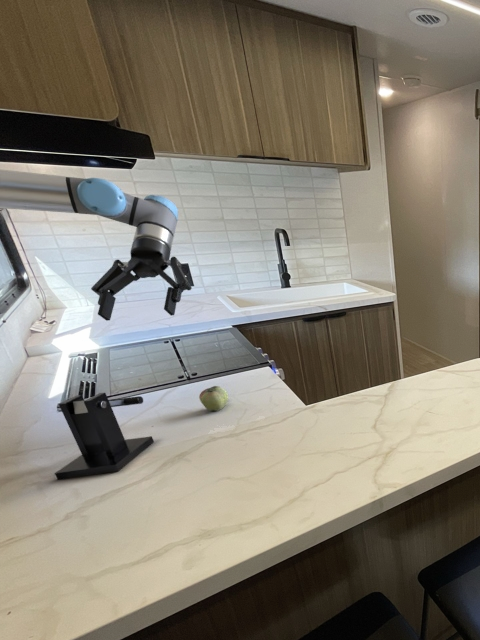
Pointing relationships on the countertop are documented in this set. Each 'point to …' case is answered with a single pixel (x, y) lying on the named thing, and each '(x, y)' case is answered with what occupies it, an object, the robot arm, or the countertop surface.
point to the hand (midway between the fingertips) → (136, 314)
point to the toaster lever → (81, 408)
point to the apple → (214, 398)
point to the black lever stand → (98, 439)
